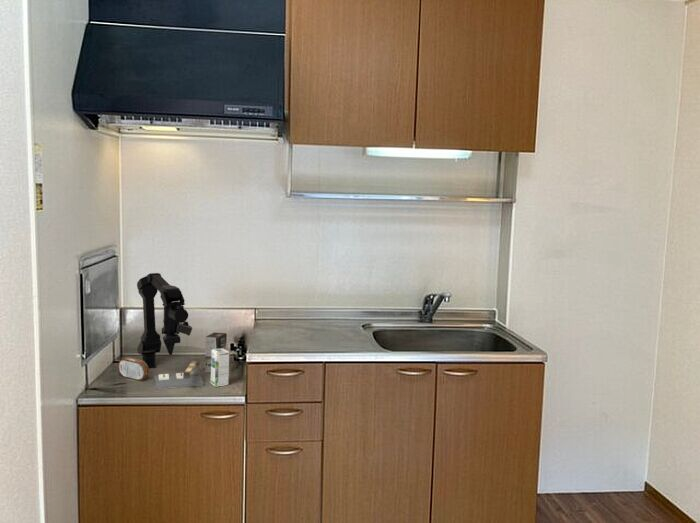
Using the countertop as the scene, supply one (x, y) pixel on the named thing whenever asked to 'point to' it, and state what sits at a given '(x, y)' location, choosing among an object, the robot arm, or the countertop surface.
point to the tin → (133, 368)
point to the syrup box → (219, 367)
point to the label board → (178, 380)
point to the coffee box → (213, 347)
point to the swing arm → (191, 368)
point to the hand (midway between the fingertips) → (170, 354)
